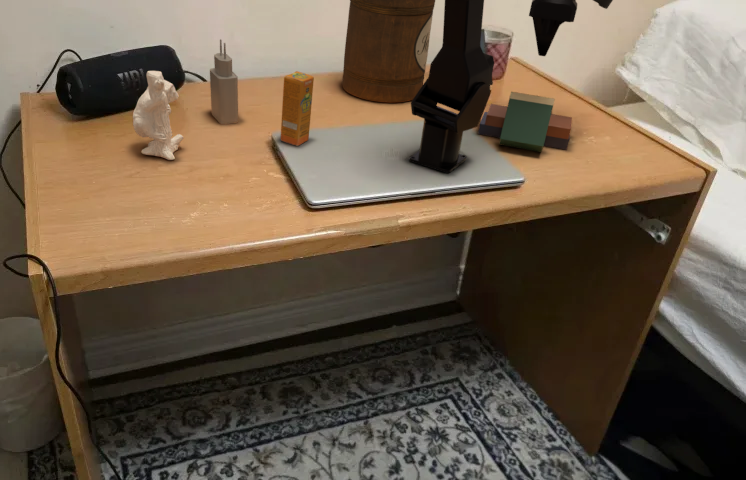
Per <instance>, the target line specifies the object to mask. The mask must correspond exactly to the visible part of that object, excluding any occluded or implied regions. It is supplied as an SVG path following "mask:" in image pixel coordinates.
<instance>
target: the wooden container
mask: <svg viewBox="0 0 746 480" xmlns="http://www.w3.org/2000/svg"><path fill="white" fill-rule="evenodd" d="M435 5H436V0H349V8H348V17H347V26H346V36H345V45H344V54H343V55H344V56H343V70H342V82H341V83H342V88H343V89H344V91H345V92H346V93H348V94H349V95H352V96H354V97H356V98H358V99H362V100H366V101H371V102H378V103H389V104H391V103H405V102H409V101H412V100H413V99H414V97H415V96H416V94H417V93H418V91H419V90H420V89H421V87H422V86H423V84H424V82H425V81H424V80H425V73H426V69H427V62H428V54H429V49H430V48H429V47H430V38H431V29H432V23H433V15H434V9H435Z"/></svg>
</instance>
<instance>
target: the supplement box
mask: <svg viewBox="0 0 746 480" xmlns="http://www.w3.org/2000/svg"><path fill="white" fill-rule="evenodd" d="M314 81H315V77H314V76H312V75H310V74H308V73H305V72H301V71H298V70H296V71H294V72H293V73H290V74H286V75H284V77H283V89H282V106H281V123H280V124H281V125H280V141H282V142H284V143H286V144H290V145H293V146H295V147H296V146H297V147H299V146H300V145H302V144H304V143H305V142H307V141H309V139H310V126H311V115H312V103H313V91H314Z"/></svg>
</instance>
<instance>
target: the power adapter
mask: <svg viewBox="0 0 746 480" xmlns="http://www.w3.org/2000/svg"><path fill="white" fill-rule="evenodd" d="M222 41H223V40H222V39H221V38H220V39H219V52H217V53H215V54H213V61H214V62H213V63H214V67H212V68H209V86H210V87H209V88H210V108H211V109H210V110H211V115H212V116H213V118H215V120H216V121H217V122H218V124H221V125H228V124H229V125H230V124H236V123H239V82H238V81H239V80H238V79H239V77H238V75H237V74H236V73H235V72H234V71H233V58H232V57H230V56H229V55H228V54H227V48H226V47H227V46H226V42H222ZM222 43H223V44H222Z"/></svg>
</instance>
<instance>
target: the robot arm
mask: <svg viewBox="0 0 746 480" xmlns="http://www.w3.org/2000/svg"><path fill="white" fill-rule="evenodd" d="M613 1H614V0H592V2H594V3H596V4H598V6H599V7H601V8H603V9H604V10H608V9H609V7H610V6H611V4H612V2H613ZM484 5H485V0H444V8H443V10H444V11H443V28H442V29H443V31H442V45H441V48H440V49H439V50H438V52H437V53H436V55H435V56H434V58H433V59H432V61H431V63H430V64H429V72H428V77H427V78H426V80H425V81H424V82H423V86H422V87H421V89H420V90H419V91H418V93H417V94H416V96H415V97H414V99H413V100H411V102H410V109H411V115H413V116H415V117H419V118H422V119H423V126H422V132H421V139H420V146H419V150H418V151H417V152H415V153H413V154H412V155H411V156H409V162H411V163H415V164H418V165H421V166H424V167H427V168H429V169H434V170H437V171H440V172H443V173H446V174H449V173H452V172H453V171H454V170H455V169H457V168H458V167H459V166H460V165H461V164H462V163H464V162H465V161H466V160H467V155H465V154H462V153H460V150H461V146H462V139H463V134H464V132H466V131H470V130H472V129H474V128H477V127H479V125H480V122H481V120H482V117H483V115H484V112H485V109H486V107H487V104H488V101H489V99H490V95H491V86H492V85H493V84H494V82H493V72H494V71H493V70H494V66H495V58H494V56H493V55H491V54H487V53H484V51H483V49H482V46H481V41H482V39H481V38H482V29H483V19H484V18H483V17H484ZM577 9H578V2H577V0H532V1H531V4H530V8H529V12H528V17H531V18H532V23H533V28H534V35H535V41H536V46H537V47H536V48H537V54H538V56H540V57H546V56H547V54H548V52H549V50H550V47H551V46H552V43H553V41H554V39H555V37H556V35H557V32H558V30H559V28H560V26H561V25H562V24H564V23H574V22H575V18H576V14H577ZM438 104H439V105H442V106H444V107H447V108H450V109H452V110H455V111H457V112H458V113H456V112H454V111H451V110H449V109H446V108H444V107H442V106H438Z"/></svg>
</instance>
